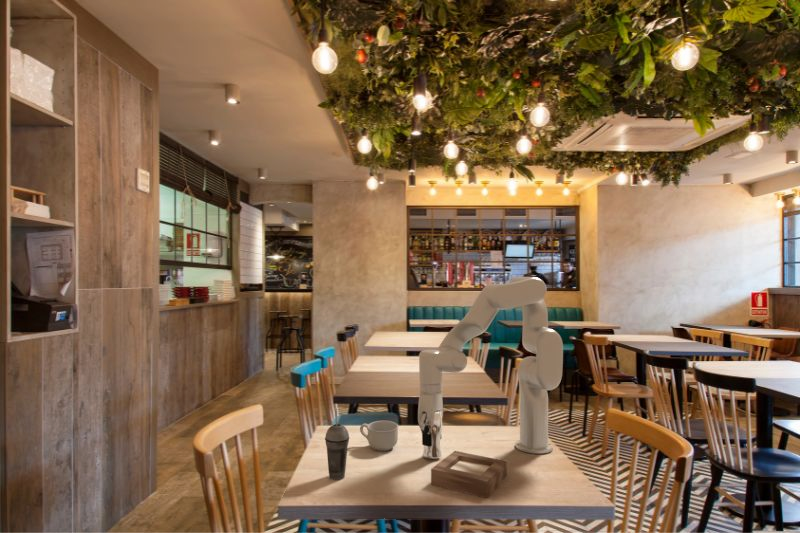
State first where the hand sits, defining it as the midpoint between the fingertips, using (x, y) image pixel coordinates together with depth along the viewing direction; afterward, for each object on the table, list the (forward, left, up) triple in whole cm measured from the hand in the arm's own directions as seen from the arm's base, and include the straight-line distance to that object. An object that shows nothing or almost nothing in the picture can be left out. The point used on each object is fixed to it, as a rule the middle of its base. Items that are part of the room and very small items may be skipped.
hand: (431, 441), depth 164 cm
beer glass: (0, 0, -5) cm, 5 cm away
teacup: (0, -20, -6) cm, 21 cm away
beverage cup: (+28, -17, -5) cm, 34 cm away
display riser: (+10, +18, -5) cm, 21 cm away
